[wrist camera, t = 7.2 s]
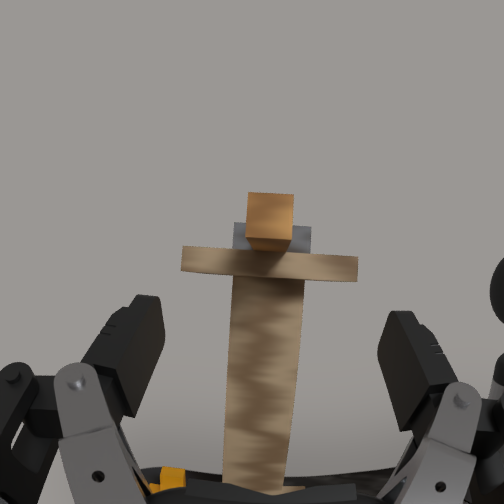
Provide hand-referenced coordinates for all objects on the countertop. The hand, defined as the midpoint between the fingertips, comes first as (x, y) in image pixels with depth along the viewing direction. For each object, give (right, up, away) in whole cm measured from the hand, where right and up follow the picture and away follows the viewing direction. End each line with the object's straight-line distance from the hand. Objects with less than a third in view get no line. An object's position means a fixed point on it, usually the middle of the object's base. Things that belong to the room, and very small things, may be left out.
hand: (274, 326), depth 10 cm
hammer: (+1, +2, +16) cm, 16 cm away
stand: (-1, -29, +16) cm, 33 cm away
